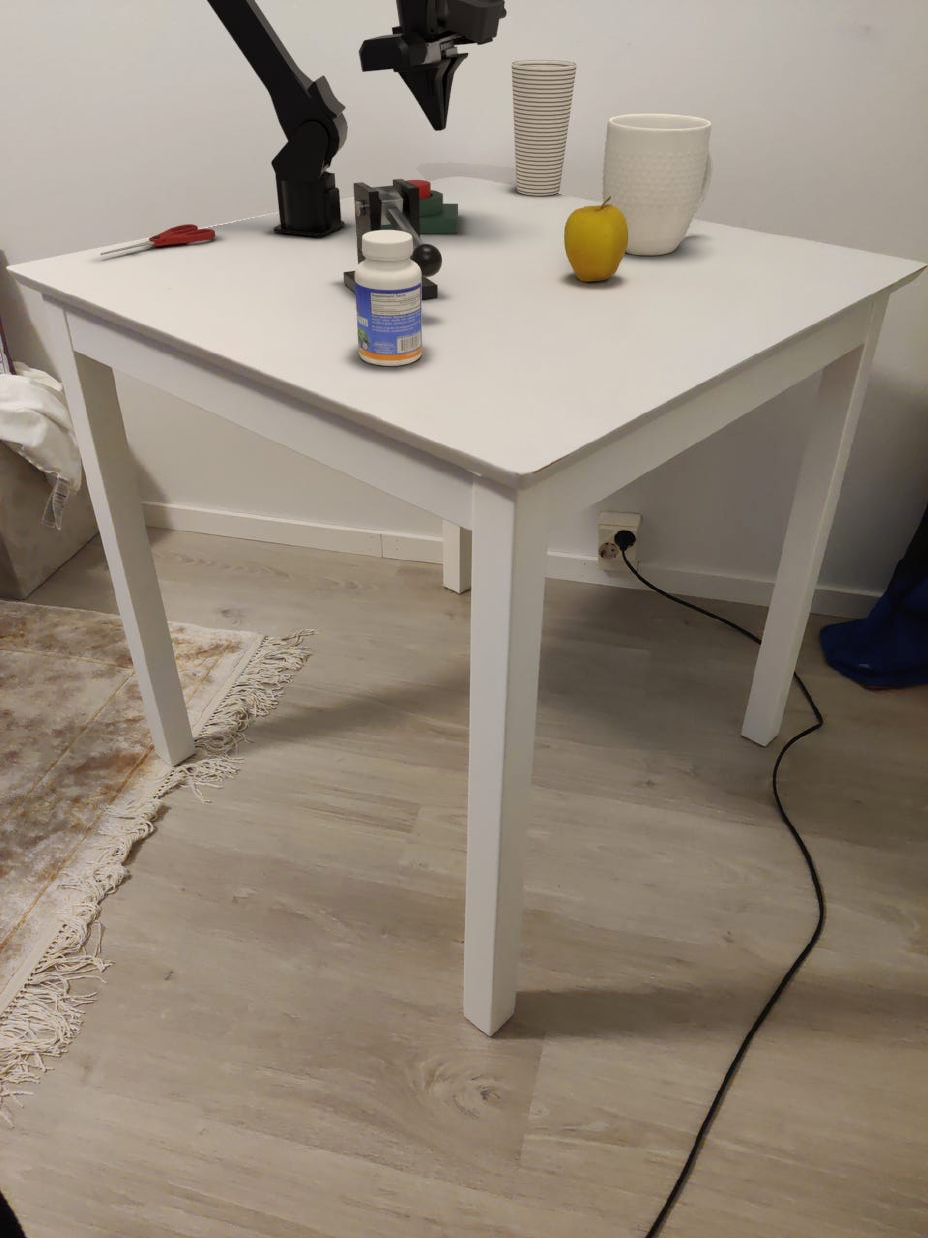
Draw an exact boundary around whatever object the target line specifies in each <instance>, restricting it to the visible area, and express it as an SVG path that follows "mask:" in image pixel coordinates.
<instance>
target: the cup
mask: <svg viewBox="0 0 928 1238" xmlns="http://www.w3.org/2000/svg"><path fill="white" fill-rule="evenodd" d="M577 66H578V65H577V63H576V62H572V61H567V60H566V61H565V60H556V59H555V60H554V59H553V60H552V59H551V60H550V59H527V60H526V59H525V60H518V61H517V60H516V61H513V62H511V84H512V86H511V87H512V105H513V106H512V108H513V109H512V111H513V135H514V136H513V137H514V157H515V158H514V163H515V183H516V186H515V187H516V192H517V193H520V194H521V195H522V194H523V195H526V196H536V197H544V196H545V197H546V196H552V195H556V194H558V193H559V192H560V189H561V183H562V175H563V169H564V168H563V167H564V160H565V154H566V145H567V139H568V132H569V131H568V130H569V126H570V125H569V123H570V118H571V117H570V116H571V109H572V103H573V102H572V101H573V94H574V87H575V81H576V74H577Z"/></svg>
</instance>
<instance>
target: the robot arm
mask: <svg viewBox="0 0 928 1238" xmlns="http://www.w3.org/2000/svg"><path fill="white" fill-rule="evenodd" d="M206 1H207V3H208V5H209V6H210V7H211V9H212V11H214V13H215V15H216V16H217V18H218V19H219V21H220V22H221V24H222V25H223V26H224V28H225V30H226V31H227V32H228V34H229V35H230V37H231V39H232V40H233V42H234V43H235V44H236V46H237V47H238V49H239V50H240V52H241V53H242V55H243V57H244V58H245V59H246V61H247V62H248V64H249V65H250V67H251V68H252V70H253V71H254V73H255V74H256V76H257V78H258V79H259V80H260V81H261V83H262V84H263V86H264V87H265V89H266V90H267V92H268V96H269V97H270V100H271V103H272V105H273V108H274V111H275V114H276V115H275V116H276V117H277V121H278V124H279V125H280V127H281V130H282V132H283V134H284V136H285V138H286V140H287V142H286V143H285V144H284V145H283V147H282V148H281V149H280V150H279V151H278V153H276V155H275V156H274V158H273V159H271V162H270V164H271V168H272V169H273V171H274V173H275V175H274V176H275V177H274V178H275V185H276V187H275V188H276V194H277V195H276V196H277V205H278V206H277V207H278V215H279V224H278V225H276V226H274V227H273V232H274V233H280V234H289V235H299V236H308V237H317V238H321V237H324V236H326V235H328V234H331V233H333V232H334V231H337V230H338V229H341V228H342V227H344V226H345V225H346V224H345V220H342V211H341V196H340V189H339V187H337V186H336V173H335V172H329V171H328V170H327V169H329V168H330V167H331V166H332V163H333V162H332V161H333V159H334V158H335V156H336V155H337V154H338V153H339V152H340V150H341V149H342V148H344V145H345V143H346V141H347V138H348V128H349V127H348V121H347V119H346V116H345V115H344V113H343V112H344V111H345V110H347V109H346V108H347V106H346V105H344V104H343V103H342V102H340V100H339V99H338V98H337V97H336V96H335V94H334V92H333V90H332V88H331V86H330V83H329V81H328V79H327V77H326V76H325V75H321V76H320V77H318V78H317V79H315V80H312V79H311V78H310V77H309V76H308V75H307V74H306V73H305V72H303V71H302V70H301V68H300V67H299V66H298V65H297V63H296V61H295V60H294V58H293V57H292V55H291V54H290V52H289V51H288V49H287V48H286V46H285V45H284V43H283V42H282V40H281V39H280V37H279V34H278V33H277V32H276V31H275V29H274V28H273V26H272V25H271V22H269V20H268V19H267V17H266V15H265V14H264V12H263V11H262V9H261V8H260V6H259V5H258V3H257V2H256V0H206ZM395 5H396V11H397V19H398V25H397V26H393V27H392V26H391V32H392V34H385V35H379V36H375V37H370V38H368V39H364V40H363V41H362V43H361V46H360V47H359V50H358V57H359V62H360V68H361V72H362V73H368V72H379V71H388V70H392V71H393V73H398V75H399V76H400V78H401V79H402V81H403V82H404V84H405V85H406V87H407V88H408V90H409V91H410V93H411V94H412V96H413V97H414V99H415V101H416V102H417V104H418V105H419V107H420V109H421V110H422V112H423V114H424V116H425V117H426V120H427V121H428V122H429V124H430V126H431V127H432V129H433V130H434V132H441V131H444V130H446V129H447V123H448V116H449V109H450V108H449V107H450V99H451V93H452V87H453V83H454V82H453V81H454V77H455V73H456V71H457V70H458V68H459V67H460V65H461V64H462V63H463V61H465V60H466V59H468V56H469V54H470V53H469V52H461V53H459V52H458V46H461V45H462V46H464V45H472V44H476V45H477V46H483V45H485V44H488V43H492V42H493V41H494V38H497V36H498V30H499V26H500V25H499V24H500V20H501V19H504V18H506V17H507V9H506V8H505V5H506V0H395Z"/></svg>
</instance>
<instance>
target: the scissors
mask: <svg viewBox="0 0 928 1238" xmlns="http://www.w3.org/2000/svg"><path fill="white" fill-rule="evenodd" d="M214 238H216V231H215V229H213V228H198V225H196V224H193V223H192V224H191V223H189V224H188V223H187V224H181V225H176V226H174V227H170V228H169V229H166V230H165V231H162V232H160V233H158V234H155V235H153V236H150V237H149V238H148V240H146V241H143V242H139V243H136V244H133V245H129V246H124V247H120V248H116V249H112V250H108V251H103V252H100V254H99V255H100V256H104V255H109V254H113V253H117V252H121V251H126V250H131V249H135V248H141V247H145V246H152V247H161V246H169V245H178V244H186V243H195V242H203V241H209V240H212V239H214Z"/></svg>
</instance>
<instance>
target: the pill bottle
mask: <svg viewBox="0 0 928 1238" xmlns="http://www.w3.org/2000/svg"><path fill="white" fill-rule="evenodd" d="M362 252H363V255H364V256H365V257H366V259H365V260H364V261H362V262H361V263H359V264H358V263H357V265H356V267H355V270H354V271H355V292H356V293H355V292H354V293H355V310H356V326H357V327H356V329H357V346H358V354H359V356H360V358H361V360H363V361H365V362H366V363H369V364H372V365H376V366H385V367H395V366H398V367H399V366H404V365H409V364H412V363H413V362H416V361H417V360H418V359H419V358H420V357H421V356H422V354H423V323H422V321H423V318H422V316H423V315H422V312H423V309H422V308H423V307H422V305H423V303H422V301H423V299H422V290H421V285H422V280H421V269H420V267H419V266H418V265H417V264H416V263H415V262H414V261H412V260H410V256H411V255H412V254H413V239H412V235H411V234H409V233H407V232H403V231H397V230H378V231H371V232H368V233H365V234H364V235H363V236H362Z"/></svg>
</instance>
